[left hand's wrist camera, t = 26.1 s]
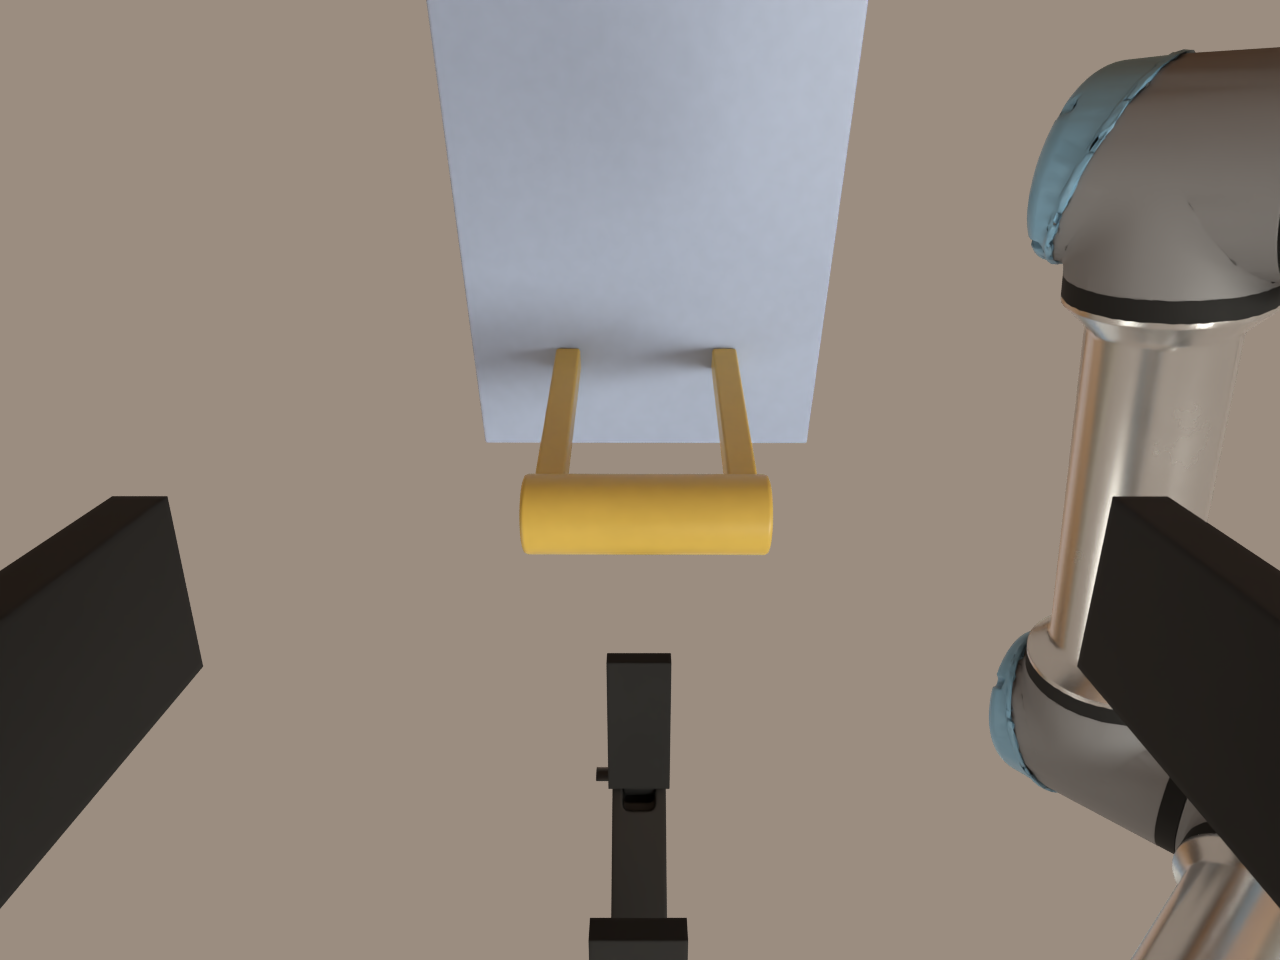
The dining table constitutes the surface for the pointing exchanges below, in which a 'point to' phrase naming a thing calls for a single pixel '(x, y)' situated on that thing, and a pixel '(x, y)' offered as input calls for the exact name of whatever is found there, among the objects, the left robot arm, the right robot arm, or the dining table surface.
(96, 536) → the left robot arm
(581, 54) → the lid
